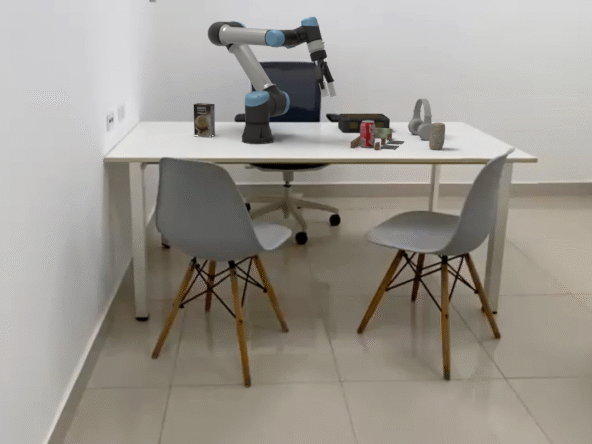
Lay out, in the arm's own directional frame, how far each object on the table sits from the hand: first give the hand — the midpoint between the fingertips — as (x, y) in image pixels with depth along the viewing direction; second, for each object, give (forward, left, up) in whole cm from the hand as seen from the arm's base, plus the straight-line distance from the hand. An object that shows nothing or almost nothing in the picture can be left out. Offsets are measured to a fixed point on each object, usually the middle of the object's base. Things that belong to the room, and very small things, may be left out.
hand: (329, 96), depth 308 cm
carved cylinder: (+49, +9, -23) cm, 55 cm away
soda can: (+18, +2, -23) cm, 29 cm away
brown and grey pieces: (+22, +11, -23) cm, 34 cm away
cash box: (+5, +48, -23) cm, 54 cm away
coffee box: (-65, -1, -23) cm, 69 cm away
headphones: (+37, +38, -23) cm, 58 cm away
